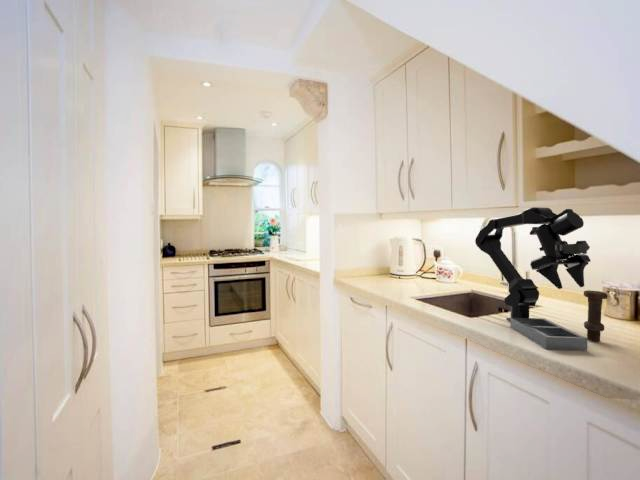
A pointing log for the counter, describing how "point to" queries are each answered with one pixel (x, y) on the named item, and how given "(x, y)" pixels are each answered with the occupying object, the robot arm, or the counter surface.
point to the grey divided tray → (549, 334)
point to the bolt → (594, 314)
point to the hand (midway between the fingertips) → (571, 287)
